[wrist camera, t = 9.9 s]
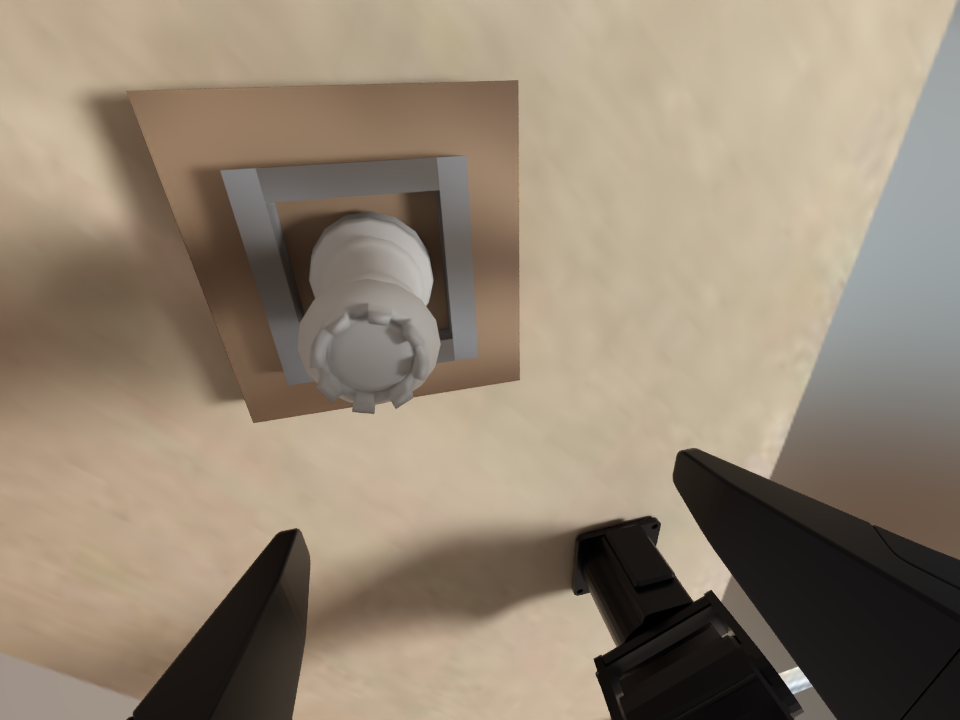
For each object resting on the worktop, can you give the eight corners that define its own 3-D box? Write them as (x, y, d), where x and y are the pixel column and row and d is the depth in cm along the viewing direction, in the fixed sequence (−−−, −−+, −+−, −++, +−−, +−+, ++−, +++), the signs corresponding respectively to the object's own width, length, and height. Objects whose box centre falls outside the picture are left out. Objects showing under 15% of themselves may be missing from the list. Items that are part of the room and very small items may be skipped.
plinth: (507, 361, 21) (527, 392, 18) (264, 398, 19) (245, 440, 16) (502, 88, 16) (529, 74, 13) (158, 99, 14) (101, 85, 11)
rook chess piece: (447, 299, 17) (496, 403, 10) (347, 340, 17) (326, 474, 10) (403, 190, 15) (428, 227, 8) (287, 236, 14) (206, 315, 8)
